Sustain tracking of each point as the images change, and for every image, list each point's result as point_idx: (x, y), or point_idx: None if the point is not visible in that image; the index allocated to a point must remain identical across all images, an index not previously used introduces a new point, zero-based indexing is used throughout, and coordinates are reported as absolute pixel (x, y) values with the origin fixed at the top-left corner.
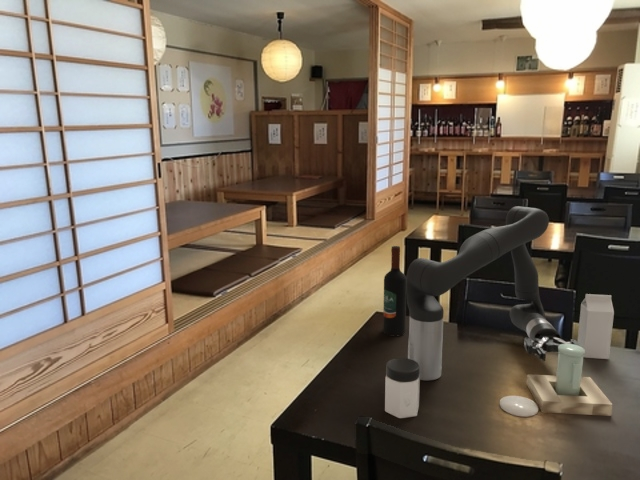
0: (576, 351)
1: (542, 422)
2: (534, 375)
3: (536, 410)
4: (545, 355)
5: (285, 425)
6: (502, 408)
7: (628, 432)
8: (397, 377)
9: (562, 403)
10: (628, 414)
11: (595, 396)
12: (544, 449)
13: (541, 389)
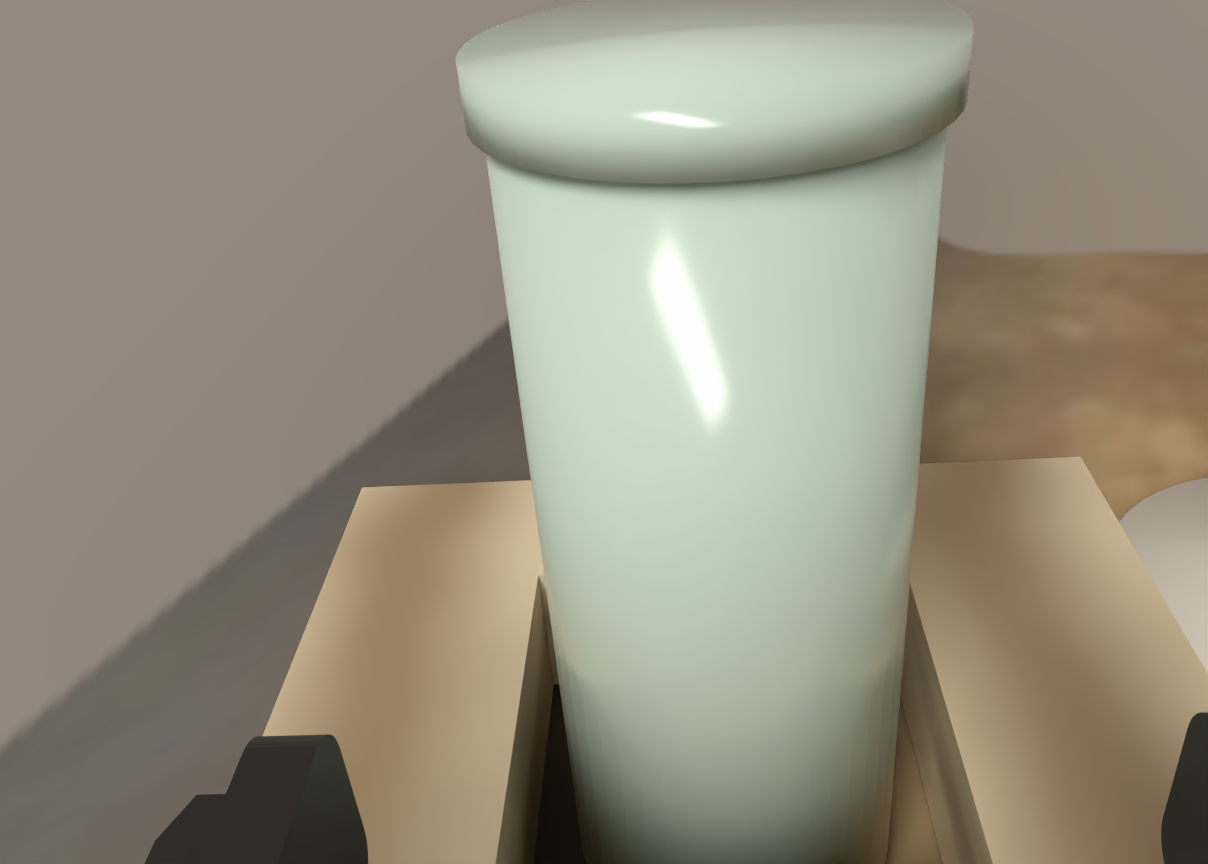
0: (655, 7)
1: (1054, 456)
2: None
3: (1124, 531)
4: (1193, 724)
5: None
6: None
7: (402, 441)
8: None
9: None
10: (195, 627)
11: (445, 584)
12: (1039, 282)
13: (1110, 644)
